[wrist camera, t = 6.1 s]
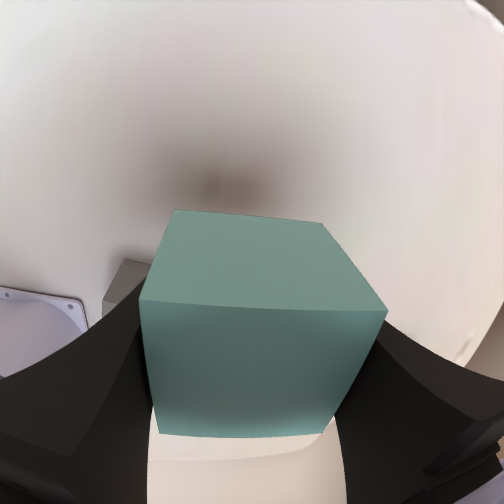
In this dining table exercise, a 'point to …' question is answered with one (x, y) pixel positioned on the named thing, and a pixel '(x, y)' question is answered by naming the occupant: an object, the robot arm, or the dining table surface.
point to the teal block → (253, 326)
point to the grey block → (124, 283)
